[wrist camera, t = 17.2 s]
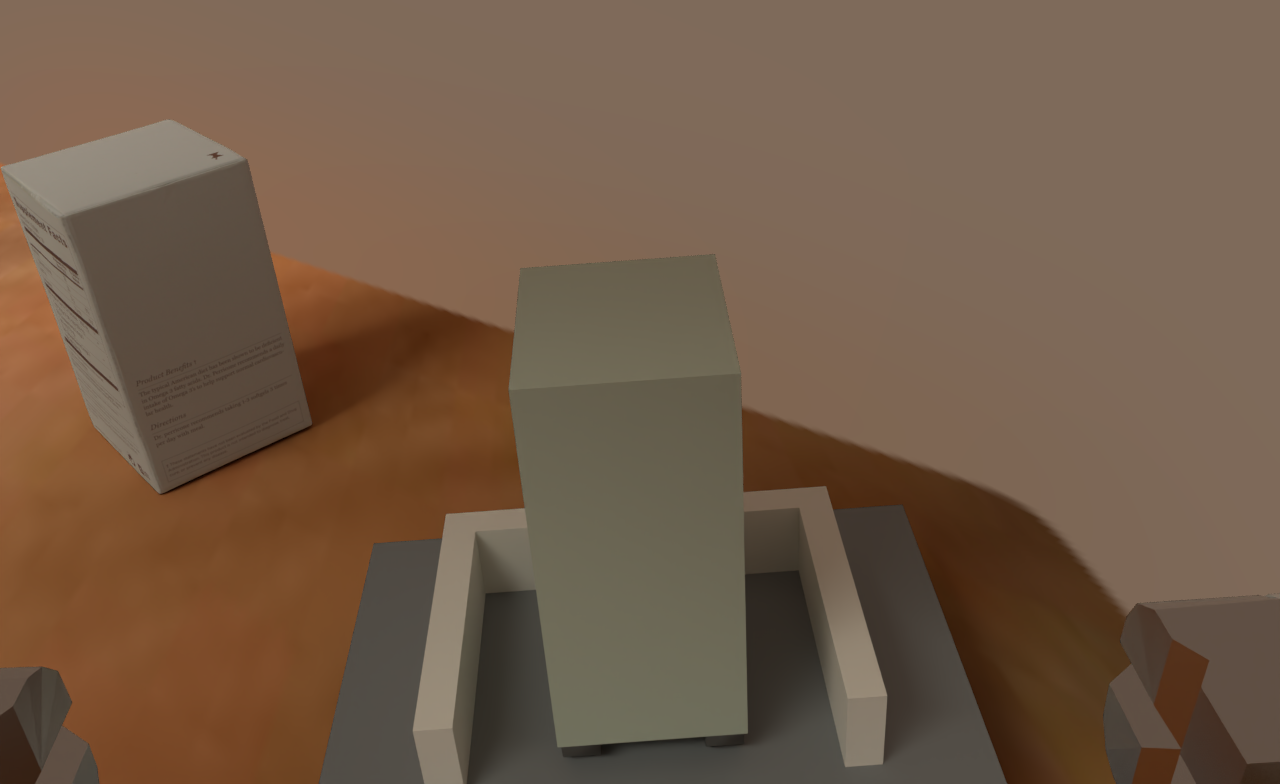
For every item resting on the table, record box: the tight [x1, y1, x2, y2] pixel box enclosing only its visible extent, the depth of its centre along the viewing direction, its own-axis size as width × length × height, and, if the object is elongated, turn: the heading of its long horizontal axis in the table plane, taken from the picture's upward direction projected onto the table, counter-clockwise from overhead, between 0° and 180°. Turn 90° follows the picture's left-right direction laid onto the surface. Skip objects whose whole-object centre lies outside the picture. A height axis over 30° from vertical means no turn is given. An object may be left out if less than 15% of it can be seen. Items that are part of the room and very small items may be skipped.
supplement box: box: [1, 120, 312, 494], centre depth 51 cm, size 7×7×13 cm
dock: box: [319, 486, 1007, 784], centre depth 35 cm, size 18×16×6 cm
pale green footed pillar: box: [509, 254, 748, 757], centre depth 32 cm, size 5×6×12 cm
